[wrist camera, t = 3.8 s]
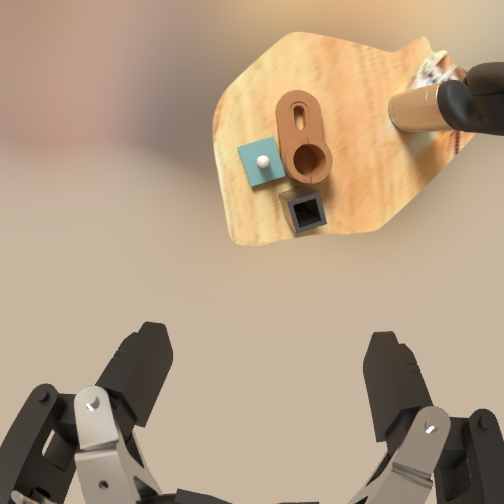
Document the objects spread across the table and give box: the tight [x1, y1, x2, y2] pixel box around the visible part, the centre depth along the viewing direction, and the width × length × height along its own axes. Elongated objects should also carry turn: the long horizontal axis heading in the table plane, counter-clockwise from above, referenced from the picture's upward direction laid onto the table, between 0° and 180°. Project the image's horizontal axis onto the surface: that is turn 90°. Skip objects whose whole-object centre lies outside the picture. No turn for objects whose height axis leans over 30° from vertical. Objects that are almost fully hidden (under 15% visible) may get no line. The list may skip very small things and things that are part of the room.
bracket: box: [276, 90, 332, 183], centre depth 46 cm, size 18×8×7 cm, turn 6°
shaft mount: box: [237, 137, 286, 187], centre depth 47 cm, size 7×8×7 cm
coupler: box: [278, 186, 327, 234], centre depth 49 cm, size 6×6×10 cm
